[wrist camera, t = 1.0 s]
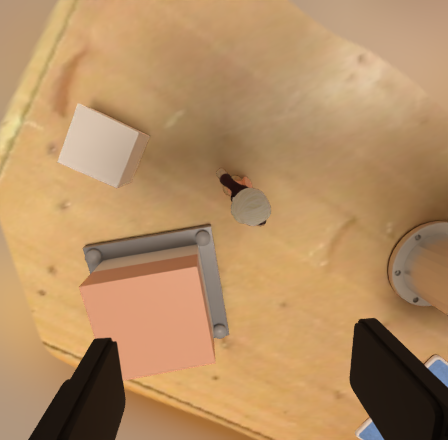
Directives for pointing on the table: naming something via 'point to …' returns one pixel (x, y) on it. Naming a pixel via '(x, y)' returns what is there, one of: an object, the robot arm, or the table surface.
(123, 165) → the white cube
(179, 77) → the table surface
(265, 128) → the table surface
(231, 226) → the table surface
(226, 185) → the grandmother figurine
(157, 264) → the pink framed box
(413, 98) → the table surface
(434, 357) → the tablet computer
